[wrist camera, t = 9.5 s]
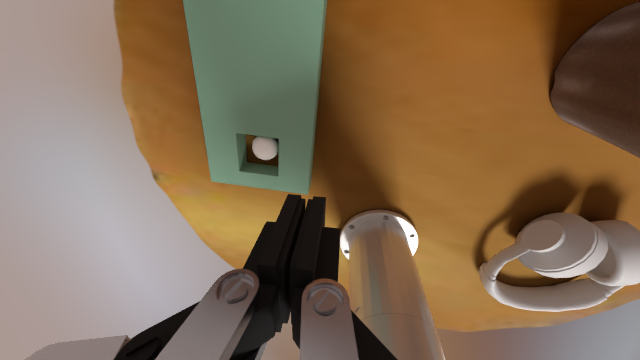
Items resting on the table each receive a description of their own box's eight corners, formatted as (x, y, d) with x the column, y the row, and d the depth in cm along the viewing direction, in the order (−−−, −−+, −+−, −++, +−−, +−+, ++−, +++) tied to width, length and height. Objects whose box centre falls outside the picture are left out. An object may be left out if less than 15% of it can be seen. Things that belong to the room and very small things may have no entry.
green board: (310, 183, 36) (308, 194, 33) (221, 171, 36) (211, 181, 34) (331, -46, 23) (329, -58, 20) (190, -60, 23) (171, -73, 21)
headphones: (519, 194, 32) (456, 272, 45) (557, 239, 26) (472, 315, 39) (658, 212, 32) (555, 286, 44) (730, 263, 26) (587, 333, 38)
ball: (281, 154, 34) (273, 167, 31) (258, 150, 34) (248, 162, 31) (282, 132, 32) (274, 143, 29) (257, 127, 32) (247, 137, 29)
